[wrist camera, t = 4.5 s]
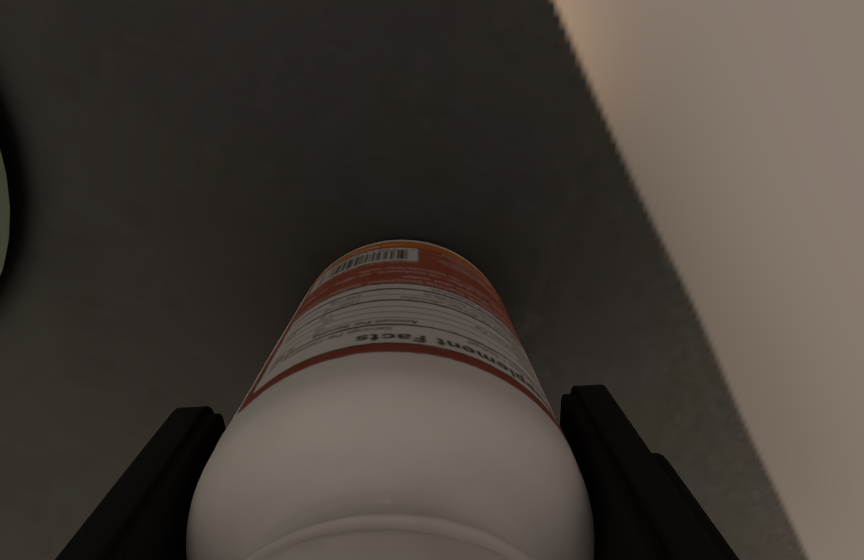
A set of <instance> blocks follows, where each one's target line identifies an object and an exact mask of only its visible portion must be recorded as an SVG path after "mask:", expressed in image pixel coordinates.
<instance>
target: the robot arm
mask: <svg viewBox="0 0 864 560" xmlns="http://www.w3.org/2000/svg"><path fill="white" fill-rule="evenodd" d="M560 426H561V428H562V431H563V433H564V435H565V437H566V439H567V441H568V443H569V445H570V448H571V450H572V452H573V455H574V457H575V460H576V462H577V465H578V467H579V470H580V472H581V475H582V477H583V480H584V482H585V485H586V489H587V492H588V495H589V499H590V503H591V508H592V513H593V520H594V533H595V545H594V559H593V560H739V559H738V557H737V556H736V554H735V553H734V552H733V550H732V549H731V548H730V546H729V545H728V543H727V542H726V541H725V539H724V538H723V536H722V535H721V534H720V532H719V531H718V530H717V528H716V527H715V525H714V524H713V523H712V521H711V520H710V518H709V517H708V516H707V514H706V513H705V512H704V510H703V509H702V507H701V506H700V505H699V503H698V502H697V500H696V499H695V498H694V496H693V495H692V494H691V492H690V491H689V489H688V488H687V487H686V485H685V484H684V483H683V481H682V480H681V478H680V477H679V476H678V474H677V473H676V471H675V470H674V469H673V467H672V466H671V465H670V463H669V462H668V461H667V459H666V458H665V457H664V456H663V455H661V454H659V453H651V452H650V450H649V449H648V448H647V446H646V445H645V443H644V442H643V440H642V439H641V437H640V436H639V435H638V433H637V432H636V430H635V429H634V427H633V426H632V424H631V423H630V422H629V420H628V419H627V417H626V416H625V414H624V413H623V411H622V410H621V409H620V407H619V406H618V404H617V403H616V401H615V400H614V398H613V397H612V395H611V394H610V393H609V391H608V390H607V388H606V387H605V386H604V385H586V386H573V387H572V389H571V393H570V394H563V395H562V398H561V414H560ZM224 431H225V425H224V420H223V417H222V415H221V414H214V412H213V410H212V409H211V408H210V407H209V406H204V407H186V408H177V409H175V410H174V411H173V412H172V413H171V415H170V416H169V417H168V418H167V420H166V421H165V422H164V423H163V425H162V426H161V427H160V428H159V430H158V431H157V432H156V433H155V435H154V436H153V437H152V438H151V440H150V441H149V442H148V443H147V445H146V446H145V447H144V449H143V450H142V451H141V452H140V454H139V455H138V456H137V457H136V459H135V460H134V461H133V462H132V464H131V465H130V466H129V467H128V469H127V470H126V471H125V472H124V474H123V475H122V476H121V477H120V479H119V480H118V481H117V482H116V484H115V485H114V486H113V487H112V489H111V490H110V491H109V492H108V494H107V495H106V496H105V498H104V499H103V500H102V501H101V503H100V504H99V505H98V506H97V508H96V509H95V510H94V511H93V513H92V514H91V515H90V516H89V518H88V519H87V520H86V521H85V523H84V524H83V525H82V526H81V528H80V529H79V530H78V531H77V533H76V534H75V535H74V536H73V538H72V539H71V540H70V541H69V543H68V544H67V545H66V547H65V548H64V549H63V550H62V552H61V553H60V554H59V555H58V557H57V558H56V559H55V560H187V559H186V530H187V523H188V516H189V511H190V507H191V502H192V498H193V495H194V492H195V489H196V486H197V483H198V481H199V479H200V476H201V474H202V472H203V470H204V468H205V466H206V464H207V462H208V460H209V458H210V457H211V455H212V453H213V451H214V449H215V447H216V445H217V443H218V441H219V439H220V437H221V435H222V434H223V433H224Z"/></svg>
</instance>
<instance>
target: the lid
mask: <svg viewBox="0 0 864 560" xmlns="http://www.w3.org/2000/svg"><path fill="white" fill-rule="evenodd" d="M9 230H10V201H9V191H8V181H7V174H6V170H5V166H4V162H3V157H2V153H1V149H0V276H1V273H2V270H3V268H4V263H5V258H6V253H7V248H8V242H9Z"/></svg>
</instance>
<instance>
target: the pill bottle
mask: <svg viewBox="0 0 864 560" xmlns="http://www.w3.org/2000/svg"><path fill="white" fill-rule="evenodd" d="M594 545H595V533H594V520H593V513H592V508H591V503H590V499H589V495H588V492H587V489H586V485H585V482H584V480H583V477H582V475H581V472H580V470H579V467H578V465H577V462H576V460H575V457H574V455H573V452H572V450H571V448H570V445H569V443H568V441H567V439H566V437H565V435H564V433H563V431H562V428H561V426H560V424H559V422H558V420H557V418H556V416H555V414H554V412H553V410H552V408H551V406H550V404H549V402H548V399H547V397H546V395H545V393H544V391H543V389H542V387H541V385H540V383H539V380H538V378H537V376H536V374H535V372H534V370H533V367H532V365H531V363H530V361H529V359H528V357H527V355H526V353H525V351H524V348H523V346H522V344H521V342H520V340H519V338H518V335H517V333H516V331H515V329H514V327H513V325H512V323H511V320H510V318H509V316H508V314H507V312H506V309H505V307H504V305H503V303H502V301H501V299H500V297H499V295H498V294H497V292H496V291H495V289H494V288H493V286H492V285H491V283H490V282H489V281H488V279H487V278H486V277H485V276H484V275H483V274H482V273H481V271H479V270H478V269H477V268H476V267H475V266H474V265H473V264H471V263H470V262H469V261H468V260H466V259H465V258H463V257H462V256H460V255H458V254H457V253H455V252H453V251H451V250H449V249H447V248H444V247H441V246H438V245H435V244H432V243H428V242H423V241H416V240H386V241H381V242H376V243H372V244H368V245H365V246H362V247H360V248H358V249H355V250H353V251H351V252H349V253H347V254H345V255H344V256H342V257H341V258H339V259H338V260H336V261H335V262H334V263H332V264H331V265H330V266H329V267H328V268H327V269H325V270H324V272H323V273H322V274H321V275H320V276H319V277H318V278H317V279H316V281H315V282H314V283H313V285H312V286H311V287H310V289H309V291H308V292H307V294H306V295H305V297H304V299H303V300H302V302H301V304H300V305H299V307H298V309H297V310H296V312H295V314H294V316H293V317H292V319H291V321H290V322H289V324H288V326H287V328H286V329H285V331H284V332H283V334H282V336H281V337H280V339H279V340H278V342H277V344H276V346H275V347H274V349H273V351H272V352H271V354H270V356H269V357H268V359H267V361H266V362H265V364H264V366H263V368H262V370H261V371H260V373H259V374H258V376H257V378H256V379H255V382H254V384H253V385H252V387H251V388H250V390H249V391H248V393H247V395H246V397H245V399H244V400H243V402H242V404H241V406H240V407H239V409H238V411H237V412H236V414H235V415H234V417H233V418H232V420H231V422H230V424H229V425H228V427H227V428H226V430H225V431H224V433H223V434H222V435H221V437H220V439H219V441H218V443H217V445H216V447H215V449H214V451H213V453H212V455H211V457H210V458H209V460H208V462H207V464H206V466H205V468H204V470H203V472H202V474H201V476H200V479H199V481H198V483H197V486H196V489H195V492H194V495H193V498H192V502H191V507H190V511H189V516H188V523H187V530H186V559H187V560H593V559H594Z"/></svg>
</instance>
